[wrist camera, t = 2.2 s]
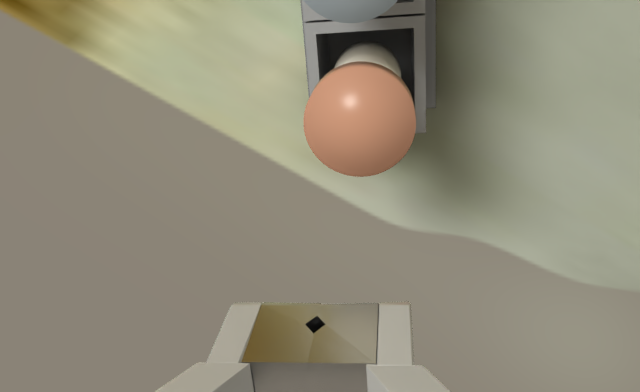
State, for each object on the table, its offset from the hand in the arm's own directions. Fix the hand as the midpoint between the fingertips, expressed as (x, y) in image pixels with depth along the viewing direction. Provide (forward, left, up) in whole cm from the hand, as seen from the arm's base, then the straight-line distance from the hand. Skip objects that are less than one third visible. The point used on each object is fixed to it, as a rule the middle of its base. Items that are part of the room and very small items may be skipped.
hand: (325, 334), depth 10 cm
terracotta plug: (0, 0, -20) cm, 20 cm away
